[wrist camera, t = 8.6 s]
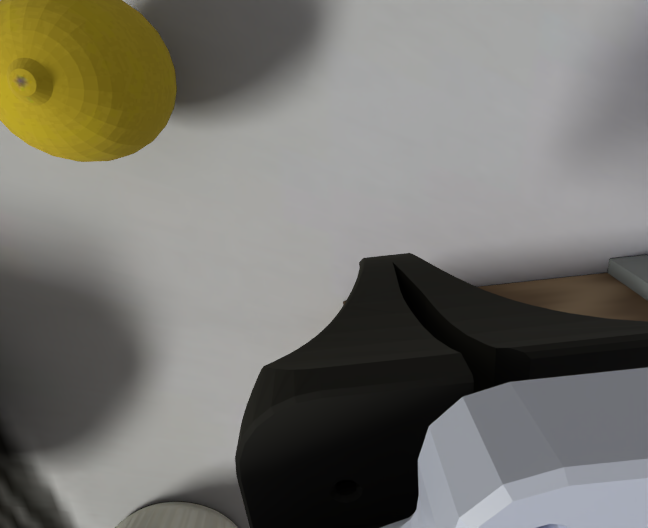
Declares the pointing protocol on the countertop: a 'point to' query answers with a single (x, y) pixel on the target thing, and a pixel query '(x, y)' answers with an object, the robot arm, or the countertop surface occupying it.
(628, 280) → the grey open tray
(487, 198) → the countertop surface
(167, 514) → the ramekin
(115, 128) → the lemon
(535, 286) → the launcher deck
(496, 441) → the robot arm
